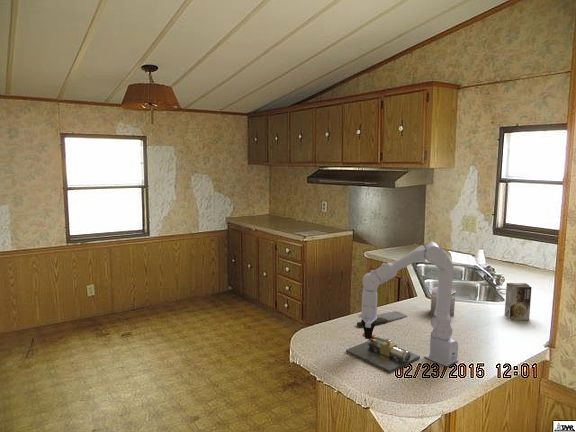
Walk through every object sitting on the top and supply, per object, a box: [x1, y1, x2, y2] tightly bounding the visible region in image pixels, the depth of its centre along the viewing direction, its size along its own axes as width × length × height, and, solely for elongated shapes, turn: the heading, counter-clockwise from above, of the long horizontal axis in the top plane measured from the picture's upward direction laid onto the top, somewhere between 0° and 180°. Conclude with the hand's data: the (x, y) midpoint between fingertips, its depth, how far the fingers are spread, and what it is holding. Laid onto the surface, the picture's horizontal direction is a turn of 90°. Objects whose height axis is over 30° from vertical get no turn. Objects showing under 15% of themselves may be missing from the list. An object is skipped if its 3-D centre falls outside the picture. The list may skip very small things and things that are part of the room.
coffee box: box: [504, 282, 532, 321], centre depth 205 cm, size 9×6×16 cm
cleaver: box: [356, 311, 408, 328], centre depth 203 cm, size 29×10×2 cm, turn 124°
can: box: [430, 286, 457, 318], centre depth 210 cm, size 11×11×12 cm
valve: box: [345, 339, 421, 374], centre depth 166 cm, size 21×18×6 cm
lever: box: [362, 332, 393, 343], centre depth 167 cm, size 12×2×1 cm, turn 55°
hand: (368, 338), depth 167 cm, fingers closed, pressing on lever
